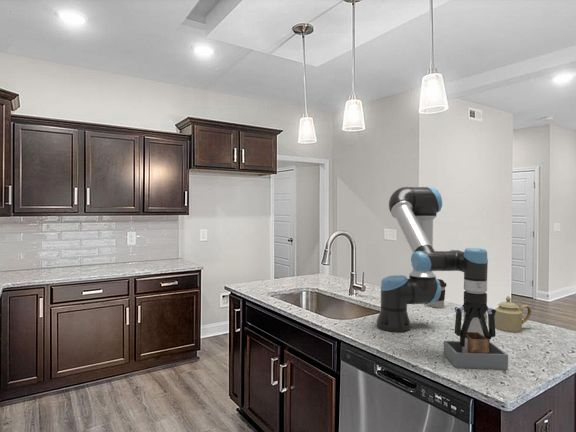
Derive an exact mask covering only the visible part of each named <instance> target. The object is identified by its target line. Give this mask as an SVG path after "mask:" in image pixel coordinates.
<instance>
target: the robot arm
mask: <svg viewBox="0 0 576 432" xmlns="http://www.w3.org/2000/svg"><path fill="white" fill-rule="evenodd" d="M442 207H443V198H442V194H441V193H440V192H439V190H438V189H436V188H435V187H429V186H425V187H424V186H419V187H418V186H414V187H413V186H403V187H400V188H398V189H396V190H395V191H393V193H392V194H391V195H390V197H389V200H388V210H389V212H390V215H391V216H392V218H394V219H396V220H397V223H398V226H399V227H400V229H401V231H402V233H403V235H404V237H405V239H406V241H407V243H408V245H409V248H410V249H411V252H412V254H411V257H410V263H411V266H412V270H411V272H410V273H409V274H408V275H409V276H408V277H407V276H406V275H401V274H400V275H398V274H397V275H395V274H394V275H388V276H385V277H384V278H382V279H381V283H380V310H379V314H378V316H377V319H376V327H377V328H379V329H380V330H382V331H386V332H393V333H404V332H408V331H410V330H411V329H412V327H411V325H412V324H411V321H410V317H409V314H408V305H430V304H431V303H435V302H437V300H438V299H439V297H440V295H441V285H440V282H439V280H438V279H439V278H437V275H436V274H435V273H434V272H456V271H457V272H462V273H463V290H464V291H463V304H462V306H460V307H457V306H456V307H454V311H455V322H454V334H455V335H456V336H457V337H459V341H460V345H461V346H462V353H467V347H468V339H467V338H466V334H467V331H468V328H469V325H470V322H471V321H472V318H478V319H479V321H480V324H481V328H482V331H483V334H484V337H485V338H487V339H488V340H489V346H490V341H491V339H492V338H496V328H495V317H494V316H495V313H496V310H495V308H492V307H489V306H488V304H487V303H488V293H487V291H488V266H489V265H488V264H489V262H488V261H489V260H488V251H487V250H486V249H485V248H479V247H467V248H465V249H464V250H463V251H462V250H458V249H456V250H455V249H451V250H447V251H446V250H444V251H443V250H435V249H434V247H433V241H434V240H433V239H434V237H433V233H434V220H435V219H436V218H437V215H438V213H439V212H441V210H442ZM464 311H465V312H466V315H465V319H464V322H463V321H462V320H463V319H462V318H463V314H464ZM485 313H487V322H488V324H487V323H486V322H485V317H484V314H485ZM462 322H463V323H462ZM487 325H488V326H487Z"/></svg>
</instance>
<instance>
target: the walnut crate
mask: <svg viewBox="0 0 576 432" xmlns="http://www.w3.org/2000/svg"><path fill="white" fill-rule="evenodd" d="M466 338H467V339H468V347H467V353H485V354H489V340H488V339H487V338H485V337H484V336H483V335H481V334H480V333H479V332H467V334H466ZM461 352H462V346H461Z"/></svg>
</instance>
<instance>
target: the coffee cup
mask: <svg viewBox="0 0 576 432" xmlns="http://www.w3.org/2000/svg"><path fill="white" fill-rule="evenodd" d="M437 279H438V280H439V282H440V285H441V295H440V297H439V299H438V300H437V302H435V303H431V304H429V306H430V308H433V309H443V307H444V304H445V303H444V302H445V300H446V299H445V298H446V297H445V296H446V287H447V283H446V282H445V281H444V280H443V279H441V278H440V279H439V278H437Z"/></svg>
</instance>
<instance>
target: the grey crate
mask: <svg viewBox="0 0 576 432" xmlns="http://www.w3.org/2000/svg"><path fill="white" fill-rule="evenodd" d="M443 356H445V358H446V359H447V360H448V361H449V362H450V363H451V365H453V367H455V369H457V368H458V369H459V368H460V369H483V370H484V369H485V370H489V369H490V370H509V354H508V353H506V352H505V351H504V350H502V349H501V348H500V347H498V346H497V345H496V344H494V343H493V342H492V341H491V342H490V346H489V354H485V353H462V352H461V345H460V340H458V341H457V340H443Z"/></svg>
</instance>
